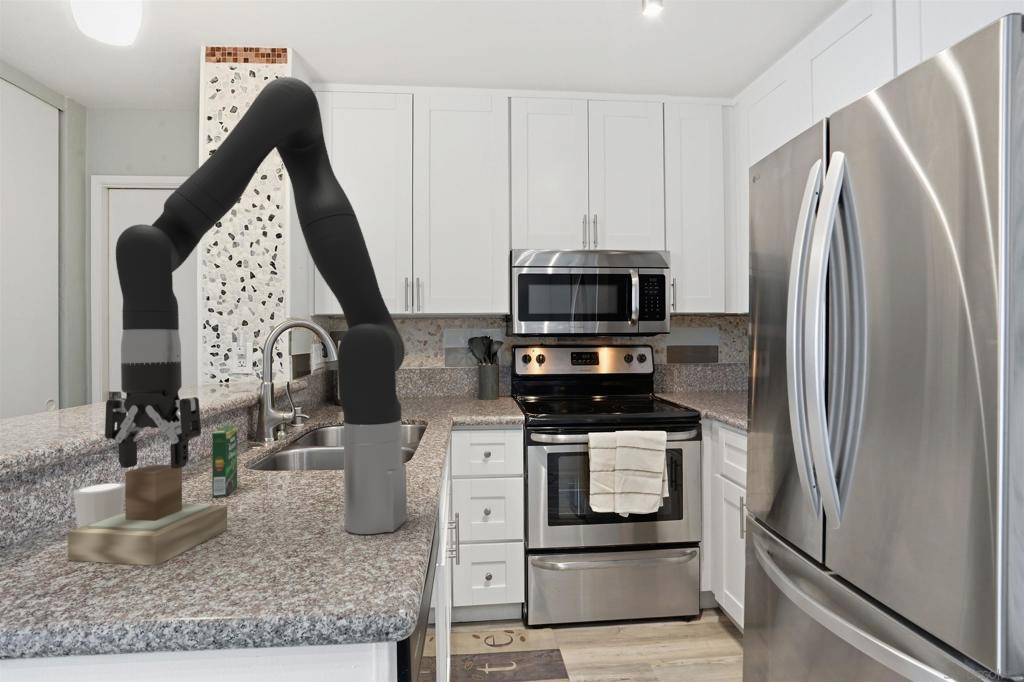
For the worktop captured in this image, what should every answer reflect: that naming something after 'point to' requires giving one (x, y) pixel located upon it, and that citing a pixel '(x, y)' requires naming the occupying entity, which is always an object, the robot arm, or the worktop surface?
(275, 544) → the worktop surface
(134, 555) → the plinth
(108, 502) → the white cup
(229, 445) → the coffee box
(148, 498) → the walnut block
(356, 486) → the robot arm
